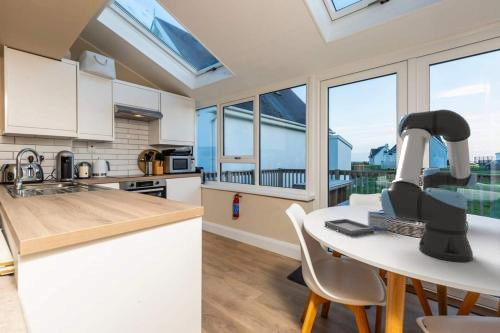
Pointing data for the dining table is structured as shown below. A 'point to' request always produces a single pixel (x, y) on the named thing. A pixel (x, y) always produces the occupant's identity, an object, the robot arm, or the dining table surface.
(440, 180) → the robot arm
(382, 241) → the dining table surface
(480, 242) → the dining table surface
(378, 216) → the medicine box
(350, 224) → the parts tray
